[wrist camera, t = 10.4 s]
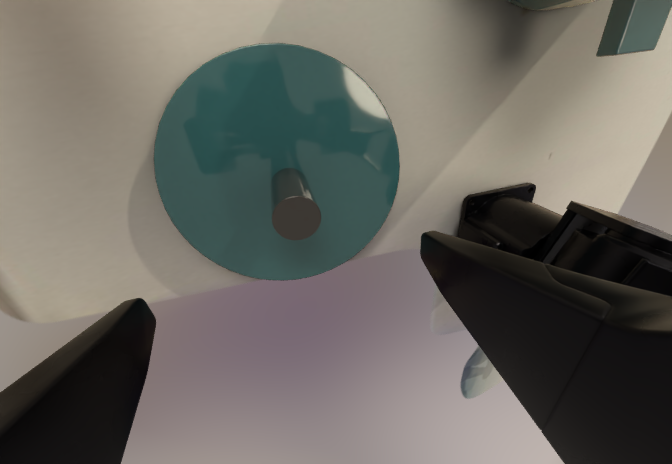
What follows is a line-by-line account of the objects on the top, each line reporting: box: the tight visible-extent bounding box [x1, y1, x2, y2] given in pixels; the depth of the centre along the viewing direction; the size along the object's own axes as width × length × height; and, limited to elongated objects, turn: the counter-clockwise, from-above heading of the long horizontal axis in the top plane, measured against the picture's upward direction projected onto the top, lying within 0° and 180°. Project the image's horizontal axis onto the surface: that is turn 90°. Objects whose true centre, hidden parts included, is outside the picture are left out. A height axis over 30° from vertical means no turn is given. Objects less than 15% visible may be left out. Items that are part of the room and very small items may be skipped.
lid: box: [154, 43, 400, 280], centre depth 16 cm, size 15×15×6 cm
